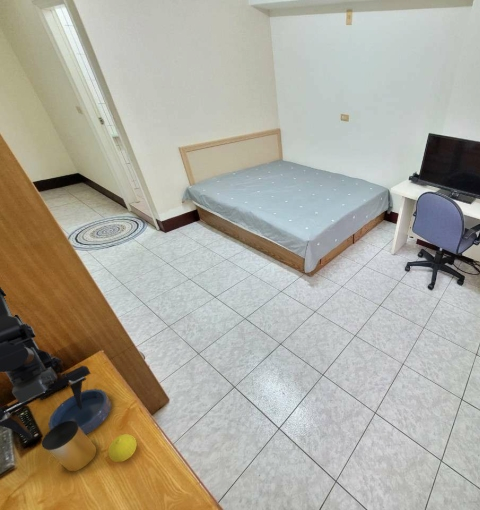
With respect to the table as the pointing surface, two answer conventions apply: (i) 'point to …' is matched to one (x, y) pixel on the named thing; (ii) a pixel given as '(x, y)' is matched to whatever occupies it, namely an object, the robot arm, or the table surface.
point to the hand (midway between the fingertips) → (57, 423)
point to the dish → (83, 411)
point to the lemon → (122, 448)
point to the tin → (69, 445)
